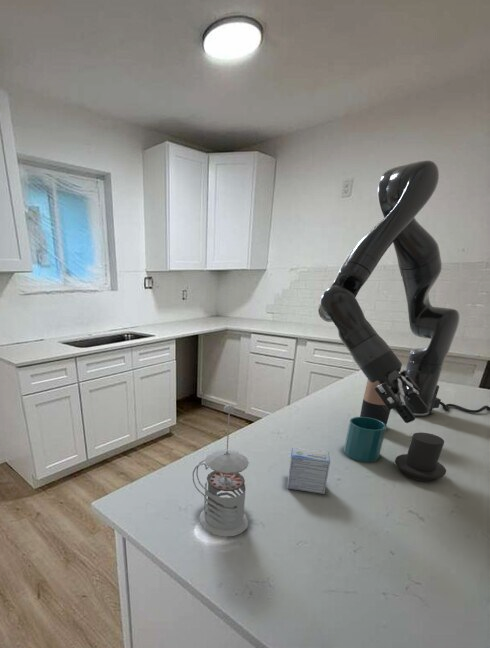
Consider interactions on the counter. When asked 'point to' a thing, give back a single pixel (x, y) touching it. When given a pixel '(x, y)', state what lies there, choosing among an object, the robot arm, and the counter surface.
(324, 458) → the medicine box
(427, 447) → the dark grey top hat
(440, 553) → the counter surface
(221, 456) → the french press
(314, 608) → the counter surface
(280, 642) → the counter surface
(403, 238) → the robot arm
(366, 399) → the travel mug
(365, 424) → the cup
